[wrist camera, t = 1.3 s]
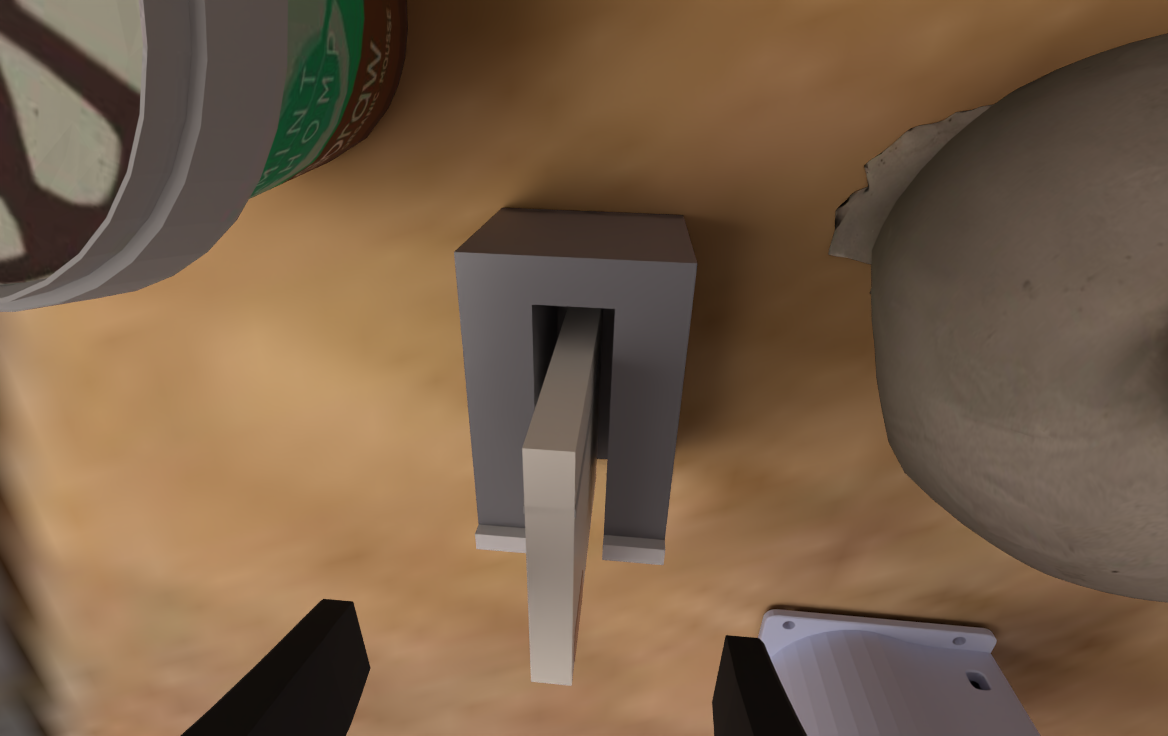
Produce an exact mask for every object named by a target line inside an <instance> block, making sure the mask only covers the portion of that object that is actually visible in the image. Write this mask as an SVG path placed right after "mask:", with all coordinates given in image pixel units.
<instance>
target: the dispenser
mask: <svg viewBox="0 0 1168 736" xmlns="http://www.w3.org/2000/svg"><path fill="white" fill-rule="evenodd" d="M454 256H455V267H456V278H457V289H458V301H459V312H460V323H461V334H462V345H463V356H464V367H465V378H466V389H467V400H468V412H469V423H470V434H471V445H472V456H473V467H474V478H475V489H476V500H477V511H478V523H479V525H478V528H477V530H476V533H475V538H476V548H477V549H484V550H496V551H507V552H519V553H526V534H525V514H523V504H524V482H523V457H522V447H523V444H524V441H525V438H526V435H527V432H528V429H529V426H530V423H531V420H532V417H533V413H534V410H535V407H536V404H537V401H538V398H539V395H540V392H541V389H542V386H543V383H544V380H545V377H546V374H547V370H548V367H549V364H550V361H551V358H552V355H553V352H554V349H555V346H556V343H557V340H558V337H559V334H560V331H561V327H562V324H563V321H564V318H565V315H566V312H567V309H568V306H569V307H587V308H602V333H601V341H602V349H601V359H600V385H599V412H598V438H597V459H608V461H607V481H606V502H605V522H604V539H603V555H602V560H611V561H623V562H634V563H646V564H657V565H663V564H664V555H665V533H666V524H667V516H668V507H669V499H670V490H671V482H672V474H673V465H674V457H675V448H676V440H677V431H678V423H679V414H680V406H681V397H682V389H683V381H684V372H685V364H686V355H687V347H688V338H689V330H690V321H691V313H692V305H693V296H694V288H695V279H696V271H697V261H696V257H695V254H694V250H693V247H692V244H691V240H690V237H689V233H688V230H687V227H686V223H685V220H684V216H683V215H669V214H645V213H620V212H596V211H571V210H546V209H522V208H501V209H500V210H499V211H498V212H497V213H496V214H495V215H494V216H493V217H492V218H490V219H489V220H488V221H487V222H486V223H485V224H484V225H483V226H482V227H481V228H480V229H479V230H477V231H476V232H475V233H474V234H473V235H472V236H471V237H470V238H469V239H468V240H467V241H466V242H464V243H463V244H462V245H461V246H460V247H459V248H458V249H457V250H456V251H455V252H454Z"/></svg>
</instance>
